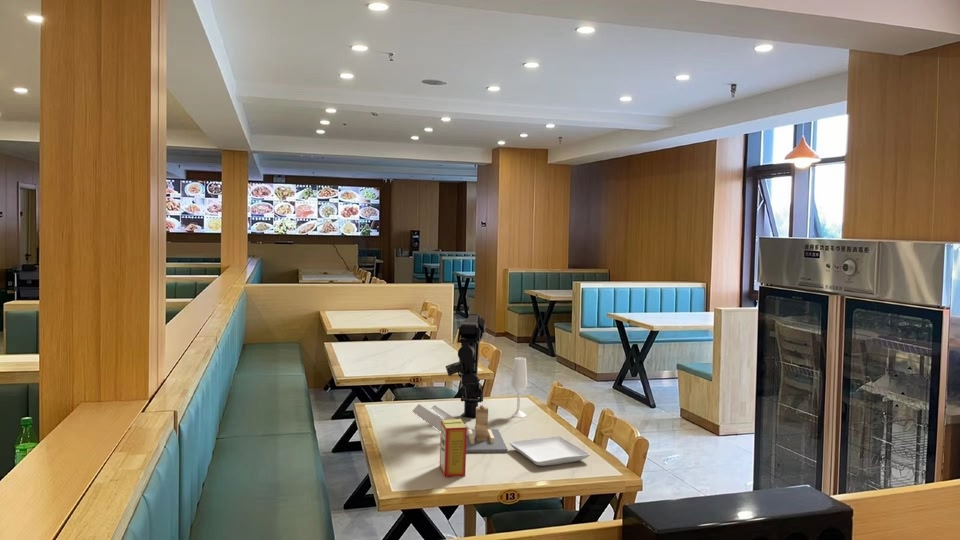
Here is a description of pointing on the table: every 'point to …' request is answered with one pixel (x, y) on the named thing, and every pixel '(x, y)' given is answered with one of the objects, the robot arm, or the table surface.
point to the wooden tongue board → (481, 423)
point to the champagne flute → (519, 382)
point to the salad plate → (549, 450)
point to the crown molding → (432, 415)
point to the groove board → (485, 442)
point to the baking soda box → (453, 447)
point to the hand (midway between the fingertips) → (466, 396)
